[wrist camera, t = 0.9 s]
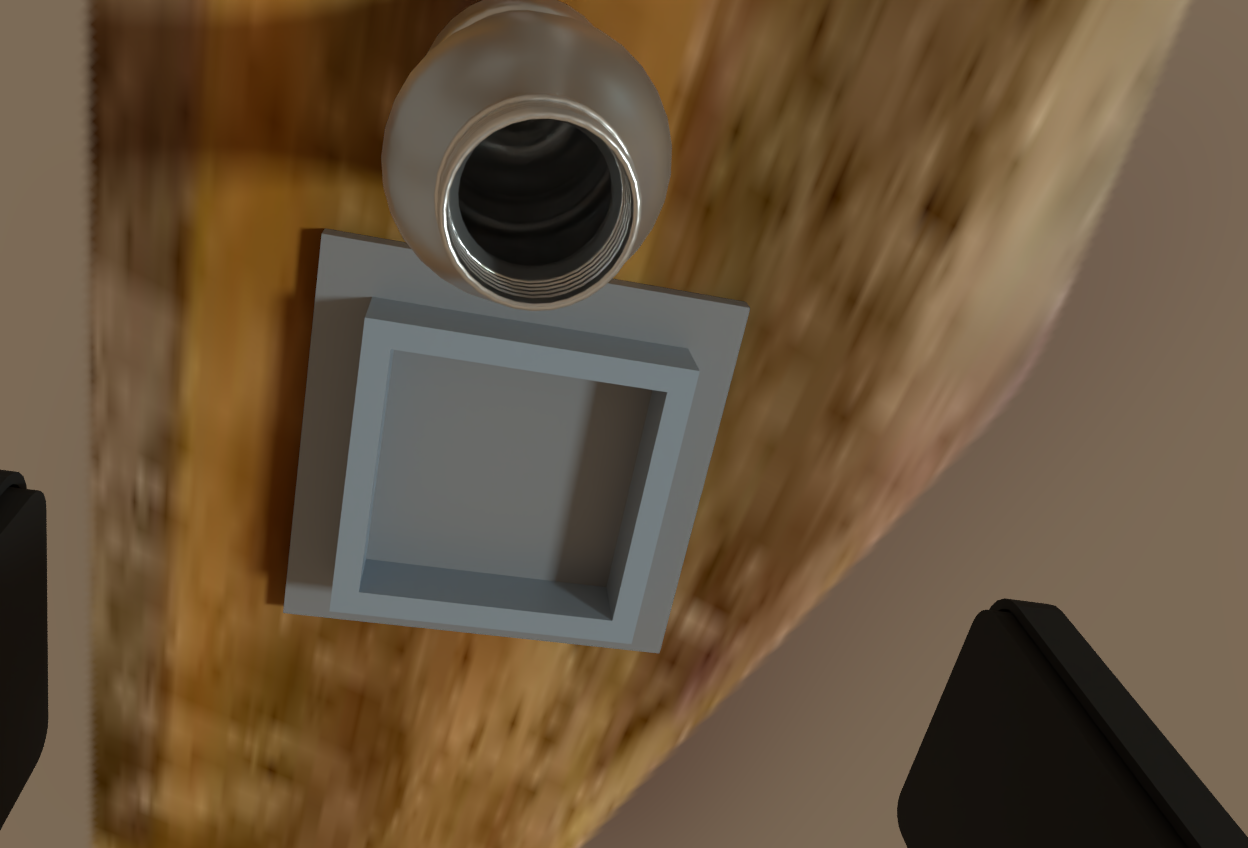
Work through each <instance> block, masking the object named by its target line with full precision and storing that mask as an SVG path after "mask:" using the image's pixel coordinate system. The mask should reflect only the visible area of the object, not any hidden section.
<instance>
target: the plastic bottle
mask: <svg viewBox="0 0 1248 848" xmlns="http://www.w3.org/2000/svg"><path fill="white" fill-rule="evenodd" d="M671 153H672V144H671V138H670V132H669V125H668V119H667V116H666V113H665V110H664V107H663V105H662V102H661V99H660V97H659V94H658V91H657V90H656V88H655V86H654V85H653V83H652V81H651V80H650V78H649V77H648V75H647V73H646V72H645V70H644V69H643V67H642V66H641V65H640V64H639V63H638V62H637V60H636V59H635V58H634V57H633V56H632V55H631V54H630V53H629V52H628V51H627V50H626V49H625V48H624V47H623V46H622V45H621V44H619V43H618V42H617V41H615V40H614V39H612V38H611V37H609V36H608V35H606V34H605V33H603V32H602V31H601V30H599V29H597V28H595V27H594V26H593V25H592V24H591V23H590V22H589V21H588V20H587V19H586V18H585V17H584V16H583V15H582V14H580V13H579V12H577V11H576V10H574V9H573V8H571V7H570V6H568V5H567V4H565V3H562V2H560V1H558V0H482V1H480V2H477V3H475V4H473V5H471V6H469V7H467V8H466V9H465V10H463V11H462V12H461V13H459V14H458V15H457V16H455V17H454V18H453V19H451V21H450V22H449V23H448V24H447V25H446V26H445V27H444V28H443V30H442V31H441V32H440V33H439V34H438V35H437V37H436V39H435V40H434V42H433V44H432V46H431V47H430V49H429V51H428V52H427V55H426V56H425V57H424V58H423V59H422V60H421V61H420V63H419V64H418V65H417V66H416V67H415V68H414V69H413V70H412V72H411V73H410V74H409V76H408V77H407V79H406V81H405V83H404V84H403V86H402V88H401V89H400V91H399V93H398V95H397V96H396V98H395V100H394V103H393V106H392V109H391V112H390V115H389V118H388V121H387V123H386V126H385V132H384V139H383V147H382V155H381V162H382V176H383V187H384V191H385V194H386V198H387V202H388V205H389V209H390V213H391V215H392V217H393V219H394V221H395V223H396V225H397V227H398V229H399V231H400V233H401V235H402V237H403V239H404V240H405V242H406V243H407V244H408V245H409V247H410V248H411V249H412V251H413V252H414V253H415V254H416V256H417V257H418V258H419V259H420V261H421V262H423V263H424V264H425V265H426V266H427V267H428V268H430V269H431V270H432V271H433V272H434V273H435V274H436V275H438V276H439V277H440V278H441V279H443V280H445V281H446V282H448V283H450V284H452V285H453V286H455V287H457V288H459V289H460V290H462V291H464V292H466V293H468V294H471V295H474V296H477V297H480V298H483V299H486V300H489V301H492V302H496V303H499V304H502V305H505V306H508V307H511V308H513V309H521V310H528V311H544V310H554V309H558V308H562V307H566V306H570V305H573V304H575V303H577V302H579V301H582V300H584V299H586V298H588V297H590V296H591V295H593V294H594V293H595V292H597V291H598V290H600V289H601V288H603V287H604V286H605V285H606V284H607V283H608V282H609V281H610V280H611V279H612V278H613V277H614V276H615V275H616V274H617V273H618V272H619V270H620V269H621V267H622V266H623V264H624V263H625V262H626V261H627V260H628V259H629V258H630V257H631V256H632V255H633V254H634V253H635V252H636V251H637V250H638V249H639V247H640V246H641V244H642V243H643V241H644V240H645V238H646V237H647V235H648V234H649V233H650V231H651V230H652V228H653V226H654V224H655V222H656V220H657V217H658V215H659V213H660V210H661V208H662V206H663V204H664V201H665V197H666V192H667V188H668V184H669V179H670V175H671Z"/></svg>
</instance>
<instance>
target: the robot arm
mask: <svg viewBox="0 0 1248 848" xmlns="http://www.w3.org/2000/svg"><path fill="white" fill-rule="evenodd" d="M46 536H47V534H46V500H45V497H44V494H43V493H42V492H41V491H38V490H29V489H27V488H26V483H25V480H24V477H23V476H22V475H21V474H20V473H19V472H13V471H6V470H0V830H1V828H2V826H3V824H4V822H5V820H6V818H7V817H8V815H9V813H10V811H11V809H12V808H13V806H14V804H15V802H16V801H17V799H18V797H19V795H20V793H21V791H22V790H23V788H24V786H25V784H26V782H27V780H28V779H29V777H30V775H31V773H32V771H33V769H34V768H35V766H36V764H37V762H38V760H39V757H40V755H41V752H42V749H43V746H44V743H45V739H46V734H47V728H48V644H47V643H48V642H47V537H46ZM897 817H898V824H899V828H900V831H901V834H902V836H903V838H904V841H905V843H906V845H907V848H1248V837H1247V836H1246V835H1245V834H1244V832H1243V831H1242V830H1241V829H1240V827H1239V826H1238V825H1237V824H1236V823H1235V821H1234V820H1233V819H1232V818H1231V816H1230V815H1229V814H1228V813H1227V812H1226V811H1225V809H1224V808H1223V807H1222V805H1221V804H1220V803H1219V802H1218V801H1217V799H1216V798H1215V797H1214V796H1213V795H1212V793H1211V792H1210V791H1209V790H1208V788H1207V787H1206V786H1205V785H1204V784H1203V782H1202V781H1201V780H1200V779H1199V777H1198V776H1197V775H1196V774H1195V773H1194V771H1193V770H1192V769H1191V768H1190V767H1189V765H1188V764H1187V763H1186V762H1185V760H1184V759H1183V758H1182V757H1181V756H1180V754H1179V753H1178V752H1177V751H1176V749H1175V748H1174V747H1173V746H1172V745H1171V744H1170V742H1169V741H1168V740H1167V739H1166V737H1165V736H1164V735H1163V734H1162V732H1161V731H1160V730H1159V729H1158V728H1157V726H1156V725H1155V724H1154V723H1153V722H1152V720H1151V719H1150V718H1149V717H1148V715H1147V714H1146V713H1145V712H1144V711H1143V709H1142V708H1141V707H1140V706H1139V704H1138V703H1137V702H1136V701H1135V700H1134V698H1133V697H1132V696H1131V695H1130V694H1129V692H1128V691H1127V690H1126V689H1125V687H1124V686H1123V685H1122V684H1121V683H1120V681H1119V680H1118V679H1117V678H1116V676H1115V675H1114V674H1113V673H1112V672H1111V670H1109V668H1108V667H1107V666H1106V665H1105V663H1104V662H1103V661H1102V660H1101V658H1100V657H1099V656H1098V655H1097V654H1096V652H1095V651H1094V650H1093V649H1092V647H1091V646H1090V645H1089V644H1088V642H1087V641H1086V640H1085V639H1084V638H1083V636H1082V635H1081V634H1080V633H1079V632H1078V631H1077V629H1076V628H1075V627H1074V625H1073V624H1072V623H1071V622H1070V621H1069V619H1068V618H1067V617H1066V616H1065V614H1064V613H1063V612H1062V611H1061V610H1060V609H1058V608H1057V607H1056V606H1054V605H1049V604H1043V603H1035V602H1028V601H1020V600H1012V599H1001V600H998V601H996V602H995V603H994V604H993V605H992V606H991V608H990V609H989V610H983V611H981V612H980V613H979V614H978V615H977V616H976V617H975V619H974V621H973V623H972V625H971V628H970V630H969V633H968V635H967V637H966V640H965V642H964V645H963V647H962V649H961V651H960V654H959V656H958V659H957V661H956V663H955V666H954V668H953V670H952V673H951V675H950V677H949V680H948V682H947V684H946V687H945V689H944V692H943V694H942V696H941V699H940V701H939V704H938V706H937V708H936V710H935V713H934V715H933V717H932V720H931V722H930V725H929V727H928V729H927V732H926V734H925V736H924V739H923V741H922V744H921V746H920V748H919V751H918V753H917V755H916V758H915V760H914V762H913V765H912V767H911V770H910V772H909V774H908V777H907V779H906V781H905V784H904V786H903V788H902V791H901V793H900V796H899V800H898V807H897Z"/></svg>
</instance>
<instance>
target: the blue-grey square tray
mask: <svg viewBox="0 0 1248 848" xmlns="http://www.w3.org/2000/svg"><path fill="white" fill-rule="evenodd" d="M749 311H750V307H749V306H748V304H747V303H746V302H743V301H737V300H732V299H726V298H720V297H714V296H709V295H703V294H697V293H691V292H686V291H680V290H674V289H669V288H663V287H657V286H651V285H646V284H640V283H634V282H629V281H623V280H617V279H611V280H610V281H609V282H608V283H607V284H606V285H605V286H604V287H603V288H601V289H600V290H598V291H597V292H595V293H594V294H593V295H591V296H590V297H588V298H586V299H584V300H582V301H579V302H577V303H575V304H573V305H570V306H566V307H562V308H558V309H554V310H544V311H528V310H521V309H513V308H511V307H508V306H505V305H502V304H499V303H496V302H492V301H489V300H486V299H483V298H480V297H477V296H474V295H471V294H468V293H466V292H464V291H462V290H460V289H459V288H457V287H455V286H453V285H452V284H450V283H448V282H446V281H445V280H443V279H441V278H440V277H439V276H438V275H436V274H435V273H434V272H433V271H432V270H431V269H430V268H428V267H427V266H426V265H425V264H424V263H423V262H421V261H420V259H419V258H418V257H417V256H416V254H415V253H414V252H413V251H412V249H411V248H410V247H409V245H408V244H407V243H405V242H400V241H394V240H388V239H382V238H377V237H371V236H365V235H359V234H354V233H348V232H342V231H337V230H331V229H324V231H323V232H322V235H321V245H320V255H319V265H318V275H317V284H316V294H315V304H314V314H313V324H312V334H311V344H310V353H309V363H308V373H307V383H306V393H305V403H304V413H303V423H302V432H301V442H300V452H299V462H298V472H297V482H296V492H295V501H294V511H293V521H292V531H291V541H290V551H289V561H288V570H287V580H286V590H285V600H284V610H283V613H289V614H299V615H308V616H317V617H327V618H336V619H345V620H354V621H364V622H373V623H382V624H392V625H401V626H410V627H420V628H429V629H438V630H448V631H457V632H466V633H475V634H485V635H494V636H503V637H513V638H522V639H531V640H541V641H550V642H559V643H568V644H578V645H587V646H596V647H606V648H615V649H624V650H634V651H643V652H652V653H660V649H661V645H662V641H663V637H664V634H665V630H666V626H667V622H668V618H669V615H670V611H671V607H672V603H673V599H674V596H675V592H676V588H677V584H678V580H679V577H680V573H681V569H682V565H683V561H684V558H685V554H686V550H687V546H688V542H689V539H690V535H691V531H692V527H693V523H694V520H695V516H696V512H697V508H698V504H699V501H700V497H701V493H702V489H703V485H704V482H705V478H706V474H707V470H708V466H709V463H710V459H711V455H712V451H713V447H714V444H715V440H716V436H717V432H718V428H719V425H720V421H721V417H722V413H723V409H724V406H725V402H726V398H727V394H728V390H729V387H730V383H731V379H732V375H733V371H734V368H735V364H736V360H737V356H738V352H739V349H740V345H741V341H742V337H743V333H744V330H745V326H746V322H747V318H748V314H749Z"/></svg>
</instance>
